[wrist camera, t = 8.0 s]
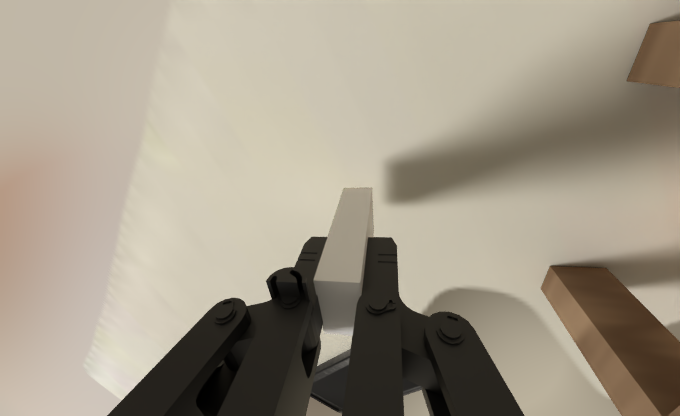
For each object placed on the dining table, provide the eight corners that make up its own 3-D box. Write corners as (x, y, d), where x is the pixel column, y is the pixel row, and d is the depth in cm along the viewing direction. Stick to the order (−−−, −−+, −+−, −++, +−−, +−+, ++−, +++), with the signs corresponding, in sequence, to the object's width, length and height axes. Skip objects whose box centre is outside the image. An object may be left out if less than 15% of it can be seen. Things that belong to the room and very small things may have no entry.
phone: (290, 385, 29) (389, 336, 21) (294, 374, 30) (389, 324, 22) (344, 416, 31) (452, 380, 23) (345, 404, 32) (449, 367, 24)
